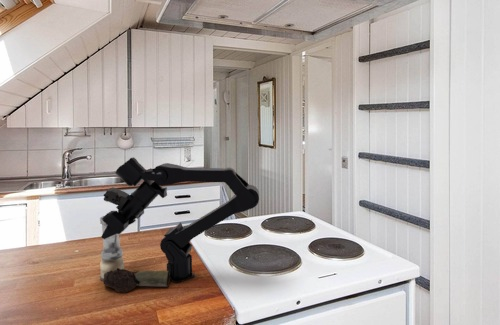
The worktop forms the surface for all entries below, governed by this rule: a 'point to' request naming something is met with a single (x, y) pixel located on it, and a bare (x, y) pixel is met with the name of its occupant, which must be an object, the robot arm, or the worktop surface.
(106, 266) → the fitting stand
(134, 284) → the brown and green club
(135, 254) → the worktop surface
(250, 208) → the robot arm
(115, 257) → the metal knob
